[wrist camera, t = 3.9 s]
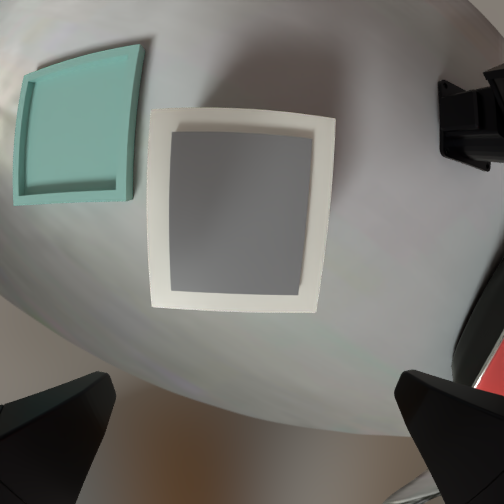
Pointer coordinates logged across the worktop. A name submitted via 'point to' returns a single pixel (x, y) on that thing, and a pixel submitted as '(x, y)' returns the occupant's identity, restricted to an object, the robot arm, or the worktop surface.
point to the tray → (78, 129)
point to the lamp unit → (238, 208)
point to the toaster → (483, 341)
